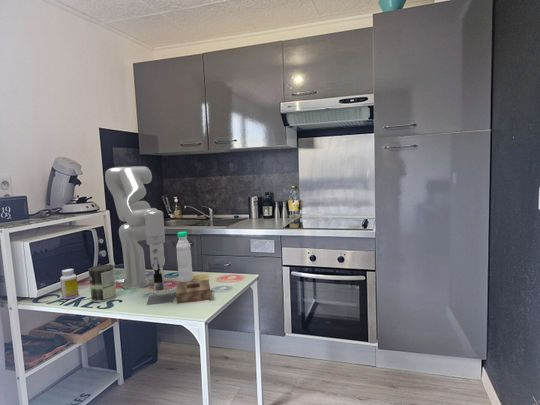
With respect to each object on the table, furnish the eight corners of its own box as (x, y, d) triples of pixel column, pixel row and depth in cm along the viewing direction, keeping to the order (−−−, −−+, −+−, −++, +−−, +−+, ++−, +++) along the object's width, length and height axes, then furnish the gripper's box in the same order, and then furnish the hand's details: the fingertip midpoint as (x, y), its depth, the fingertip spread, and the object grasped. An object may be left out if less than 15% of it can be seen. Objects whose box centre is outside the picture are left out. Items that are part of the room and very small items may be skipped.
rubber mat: (146, 306, 145) (146, 305, 145) (149, 297, 156) (149, 296, 156) (173, 303, 148) (173, 301, 148) (174, 294, 158) (174, 293, 158)
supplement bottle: (82, 295, 165) (79, 268, 164) (70, 300, 158) (66, 272, 157) (71, 294, 167) (68, 267, 166) (59, 299, 161) (55, 271, 160)
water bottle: (186, 277, 183) (183, 230, 181) (196, 279, 179) (192, 231, 177) (175, 281, 178) (171, 232, 175) (185, 283, 173) (181, 233, 171)
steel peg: (154, 291, 150) (152, 263, 148) (155, 287, 154) (153, 261, 152) (163, 290, 151) (161, 262, 149) (164, 286, 155) (162, 260, 153)
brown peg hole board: (177, 304, 146) (176, 293, 145) (178, 293, 159) (177, 282, 159) (211, 300, 148) (210, 288, 148) (209, 289, 162) (208, 279, 162)
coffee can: (90, 303, 152) (87, 272, 151) (92, 296, 162) (89, 266, 161) (116, 299, 156) (113, 268, 155) (116, 292, 166) (113, 263, 165)
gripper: (163, 242, 142) (166, 286, 144) (166, 234, 159) (169, 274, 161) (143, 244, 141) (147, 288, 143) (148, 236, 157) (151, 275, 159)
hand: (158, 280), depth 152 cm, fingers closed on steel peg, 4 cm apart
